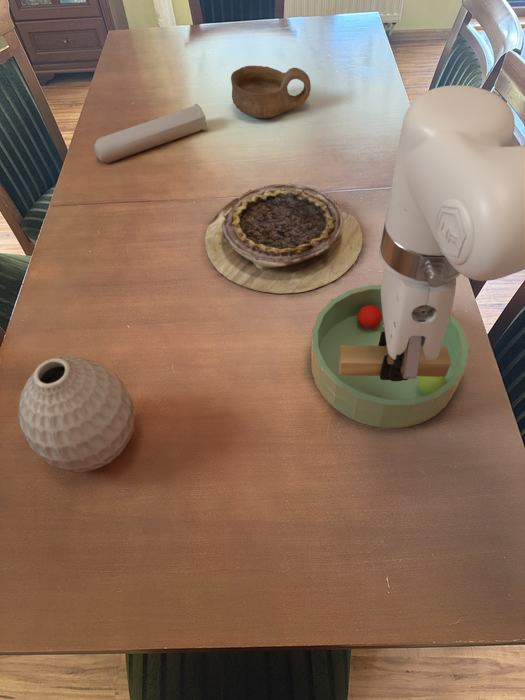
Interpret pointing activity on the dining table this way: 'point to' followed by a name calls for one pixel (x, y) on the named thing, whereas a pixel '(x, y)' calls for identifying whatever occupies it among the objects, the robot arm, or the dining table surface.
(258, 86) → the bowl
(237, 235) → the pie
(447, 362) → the stick
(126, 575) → the dining table surface
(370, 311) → the tomato
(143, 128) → the tube
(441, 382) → the grape
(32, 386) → the vase
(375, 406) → the mixing bowl
